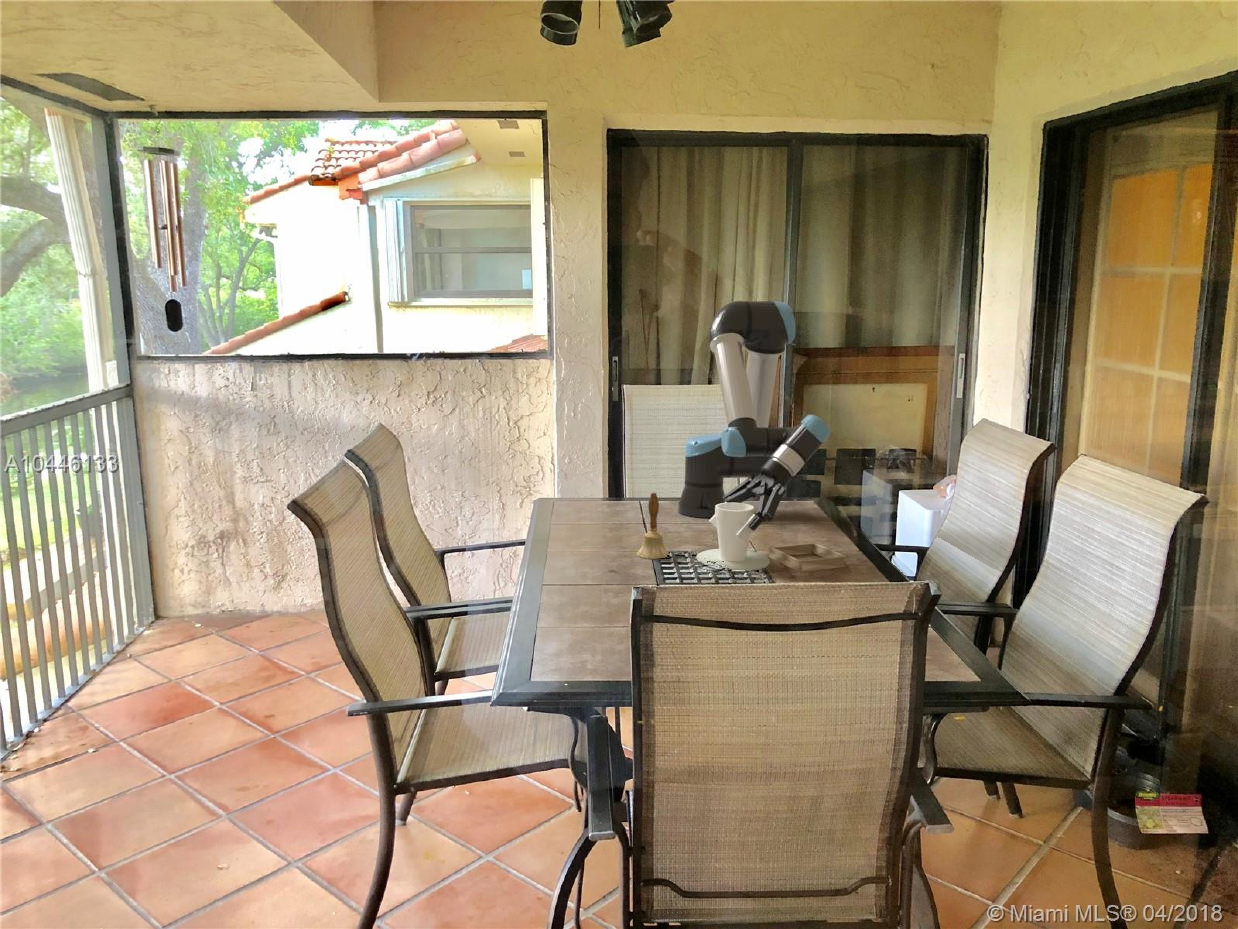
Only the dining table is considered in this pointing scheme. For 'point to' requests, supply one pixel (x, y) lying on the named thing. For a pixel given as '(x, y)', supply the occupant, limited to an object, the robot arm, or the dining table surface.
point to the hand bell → (653, 535)
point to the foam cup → (732, 529)
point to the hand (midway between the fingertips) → (725, 531)
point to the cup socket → (827, 562)
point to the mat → (750, 563)
